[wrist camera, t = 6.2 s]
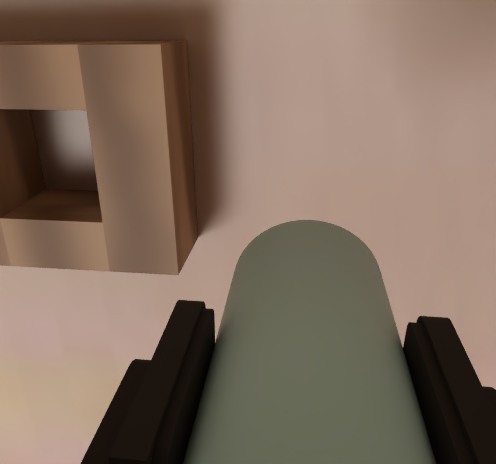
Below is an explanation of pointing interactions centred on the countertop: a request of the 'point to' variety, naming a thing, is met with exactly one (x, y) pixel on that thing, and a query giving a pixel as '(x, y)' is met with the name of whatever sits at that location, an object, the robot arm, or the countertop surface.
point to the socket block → (100, 156)
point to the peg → (308, 360)
